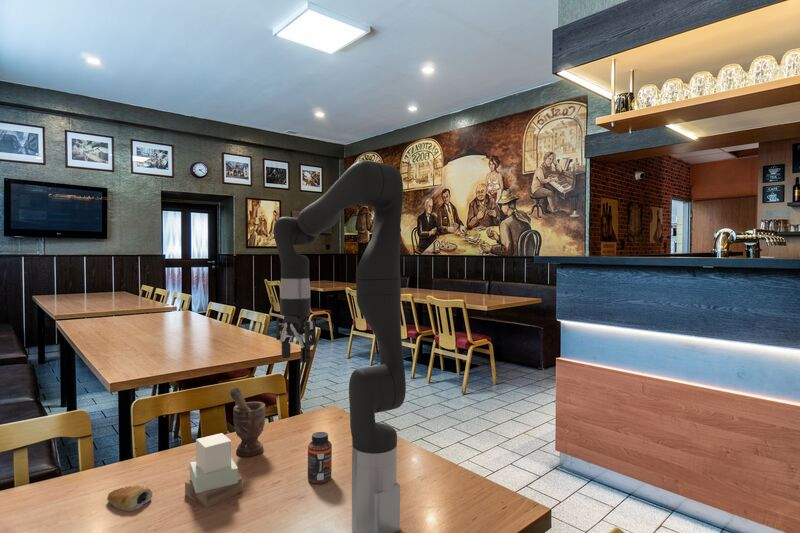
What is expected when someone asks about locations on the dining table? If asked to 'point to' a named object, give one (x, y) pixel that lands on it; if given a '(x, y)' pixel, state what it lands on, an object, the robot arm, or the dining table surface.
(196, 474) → the upper block
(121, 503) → the pastry
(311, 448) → the supplement bottle
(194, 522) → the dining table surface
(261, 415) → the mortar and pestle
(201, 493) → the lower block
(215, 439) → the cream block
